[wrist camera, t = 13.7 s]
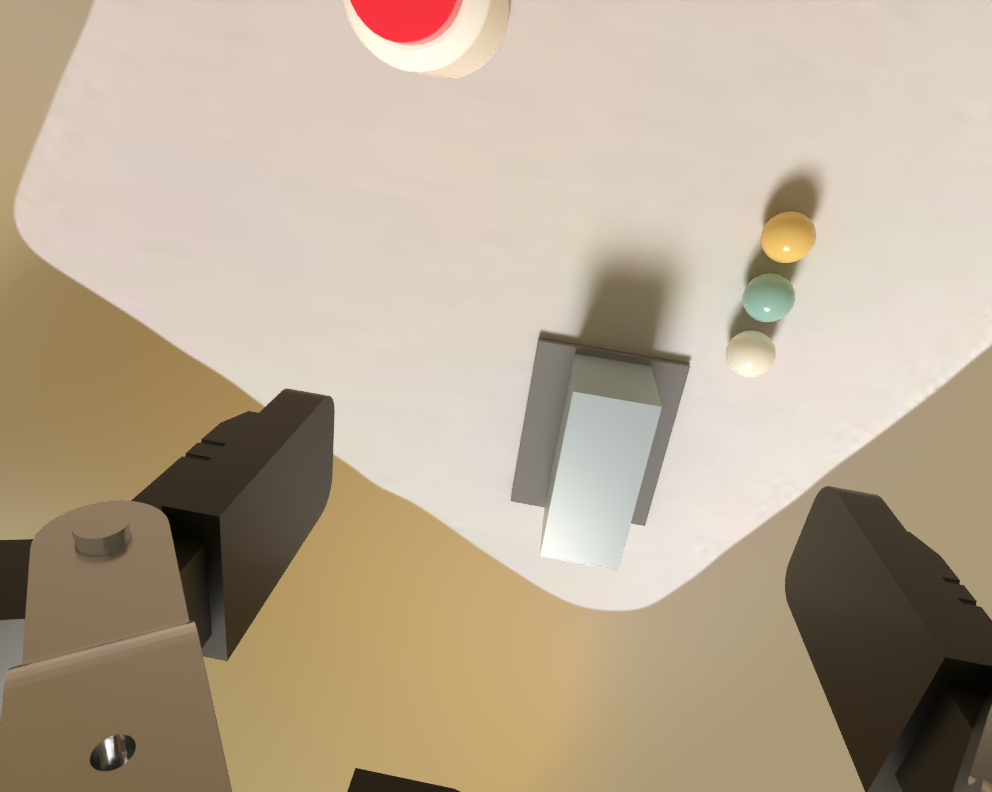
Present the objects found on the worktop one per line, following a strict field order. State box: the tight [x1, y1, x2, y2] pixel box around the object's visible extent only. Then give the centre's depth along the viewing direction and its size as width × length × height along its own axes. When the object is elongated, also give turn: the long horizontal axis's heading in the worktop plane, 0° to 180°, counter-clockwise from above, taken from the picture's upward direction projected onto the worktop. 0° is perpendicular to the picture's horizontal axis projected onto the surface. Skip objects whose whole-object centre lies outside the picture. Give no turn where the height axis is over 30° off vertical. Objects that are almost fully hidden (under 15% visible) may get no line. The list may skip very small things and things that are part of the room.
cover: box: [540, 354, 662, 571], centre depth 47 cm, size 13×6×7 cm, turn 172°
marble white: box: [726, 331, 776, 377], centre depth 45 cm, size 3×3×3 cm
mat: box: [511, 338, 690, 526], centre depth 50 cm, size 14×11×1 cm
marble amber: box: [761, 211, 816, 263], centre depth 41 cm, size 3×3×3 cm
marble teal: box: [743, 273, 795, 322], centre depth 43 cm, size 3×3×3 cm
